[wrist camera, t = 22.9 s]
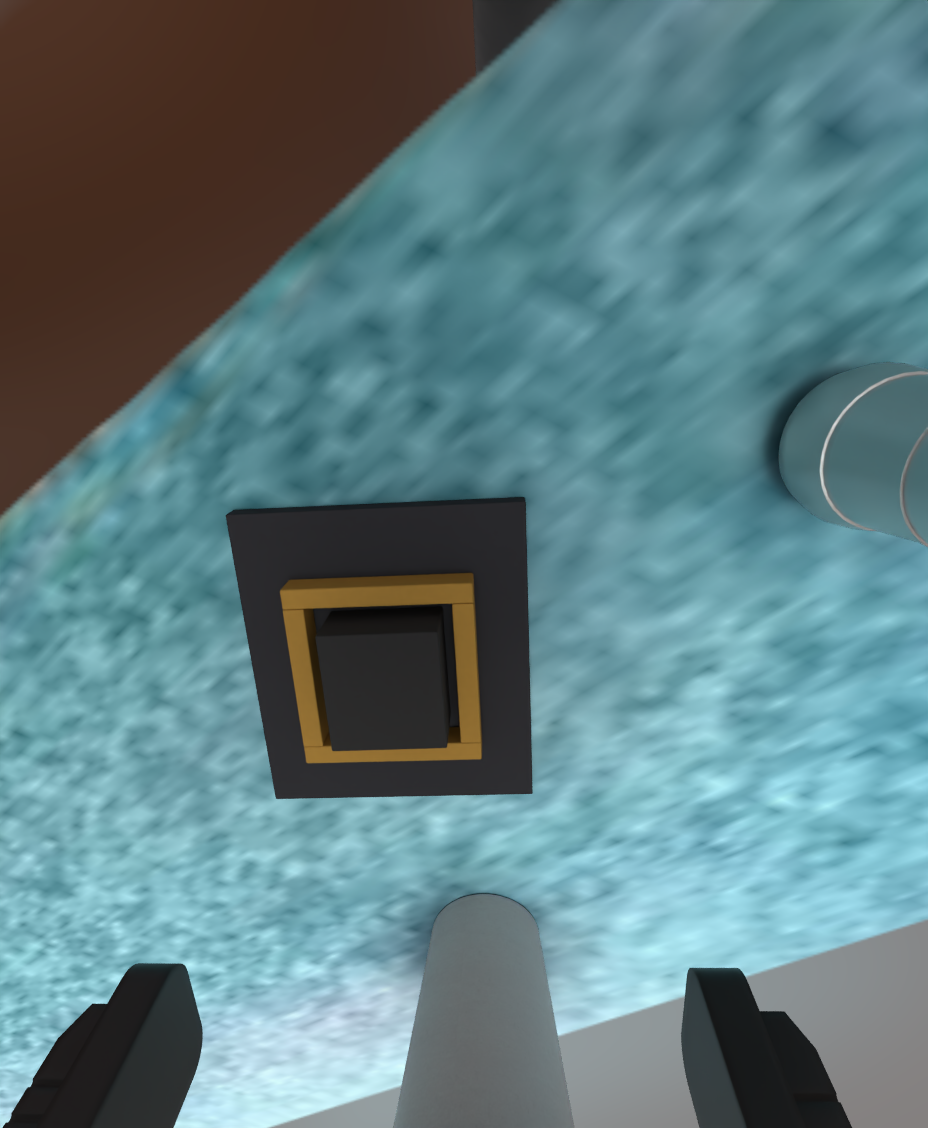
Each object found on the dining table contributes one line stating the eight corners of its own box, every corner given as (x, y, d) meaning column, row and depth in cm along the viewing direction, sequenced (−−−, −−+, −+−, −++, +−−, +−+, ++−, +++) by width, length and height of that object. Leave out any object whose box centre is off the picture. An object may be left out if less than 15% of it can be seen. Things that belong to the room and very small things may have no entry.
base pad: (233, 509, 30) (211, 522, 28) (524, 496, 30) (527, 509, 27) (281, 787, 35) (266, 818, 33) (531, 782, 35) (534, 813, 32)
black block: (330, 610, 31) (314, 636, 28) (442, 605, 30) (438, 631, 28) (345, 717, 33) (331, 752, 30) (450, 714, 32) (447, 748, 29)
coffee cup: (377, 945, 39) (312, 1288, 25) (466, 846, 36) (450, 1166, 22) (502, 1015, 40) (509, 1376, 26) (596, 923, 38) (662, 1271, 23)
